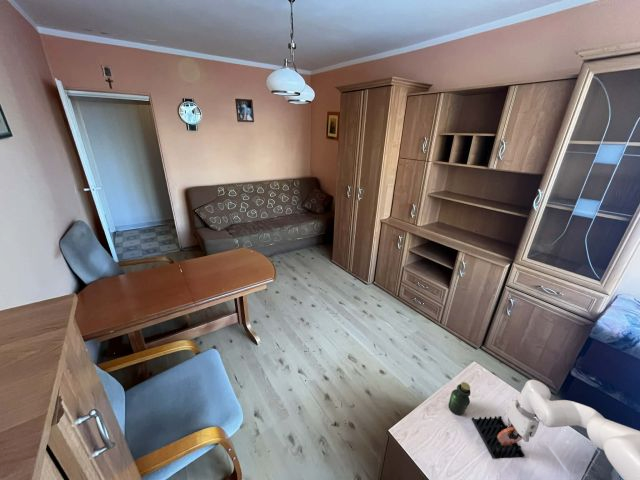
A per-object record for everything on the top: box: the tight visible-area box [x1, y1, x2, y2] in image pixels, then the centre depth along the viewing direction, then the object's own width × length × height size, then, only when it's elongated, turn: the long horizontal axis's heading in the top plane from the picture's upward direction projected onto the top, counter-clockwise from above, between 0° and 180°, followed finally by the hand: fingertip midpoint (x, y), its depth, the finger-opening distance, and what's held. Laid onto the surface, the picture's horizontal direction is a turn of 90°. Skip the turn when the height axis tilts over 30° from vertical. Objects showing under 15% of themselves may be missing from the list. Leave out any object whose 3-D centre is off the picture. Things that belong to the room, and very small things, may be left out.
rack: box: [471, 415, 526, 460], centre depth 118 cm, size 16×14×5 cm
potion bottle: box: [447, 381, 471, 417], centre depth 126 cm, size 8×8×18 cm
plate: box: [497, 426, 523, 446], centre depth 110 cm, size 1×11×12 cm, turn 93°
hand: (511, 435), depth 110 cm, fingers closed on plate, 1 cm apart
